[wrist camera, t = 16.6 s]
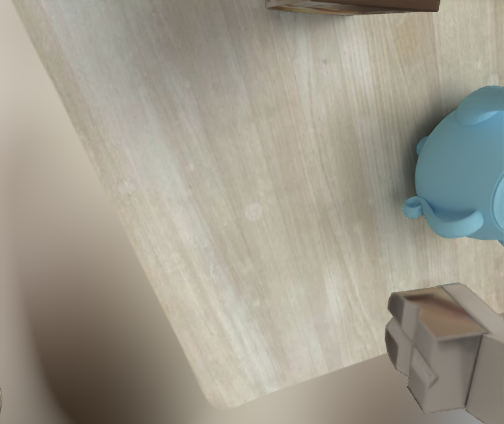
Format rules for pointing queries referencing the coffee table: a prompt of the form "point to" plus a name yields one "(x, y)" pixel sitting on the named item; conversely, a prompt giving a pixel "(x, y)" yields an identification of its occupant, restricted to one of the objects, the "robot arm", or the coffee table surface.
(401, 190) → the coffee table surface
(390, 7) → the coffee box
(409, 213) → the teapot
